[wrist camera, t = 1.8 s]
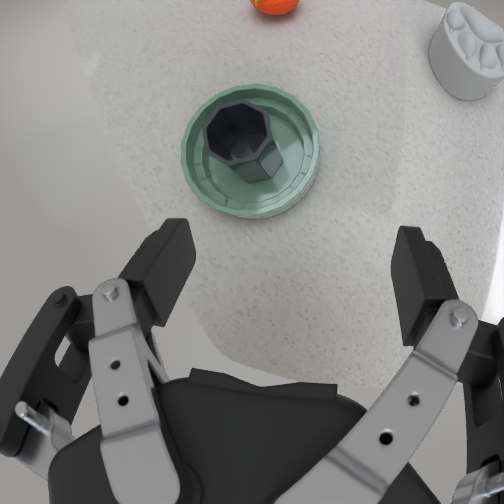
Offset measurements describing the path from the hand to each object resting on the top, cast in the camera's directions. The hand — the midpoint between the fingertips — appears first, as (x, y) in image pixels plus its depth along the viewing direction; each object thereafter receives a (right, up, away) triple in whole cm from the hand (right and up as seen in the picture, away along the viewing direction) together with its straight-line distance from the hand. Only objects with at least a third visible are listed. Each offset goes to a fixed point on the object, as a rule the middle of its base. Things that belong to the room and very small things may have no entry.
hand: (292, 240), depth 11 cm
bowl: (-1, +10, +22) cm, 25 cm away
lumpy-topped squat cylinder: (+27, +25, +16) cm, 40 cm away
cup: (-1, +10, +22) cm, 24 cm away
